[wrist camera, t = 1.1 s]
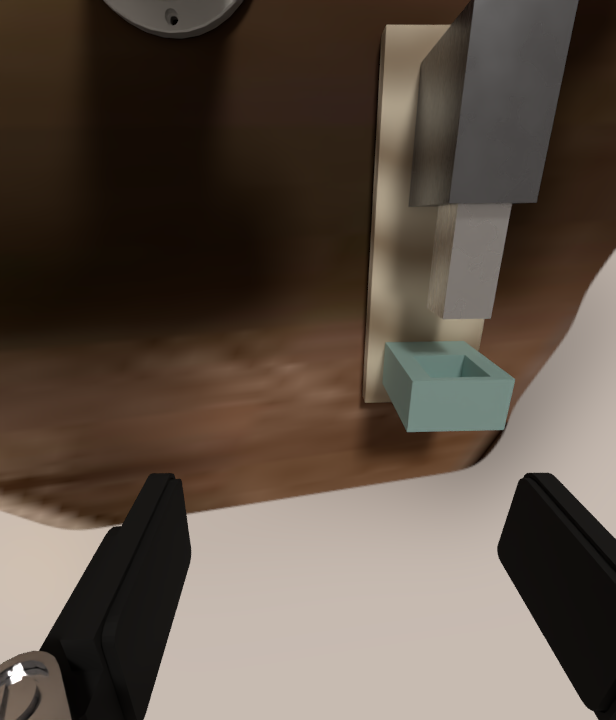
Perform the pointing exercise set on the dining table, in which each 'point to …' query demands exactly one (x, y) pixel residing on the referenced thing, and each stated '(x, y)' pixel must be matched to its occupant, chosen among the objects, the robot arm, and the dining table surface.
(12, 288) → the dining table surface
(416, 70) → the base board
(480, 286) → the tube
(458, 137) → the sleeve
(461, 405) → the socket block
